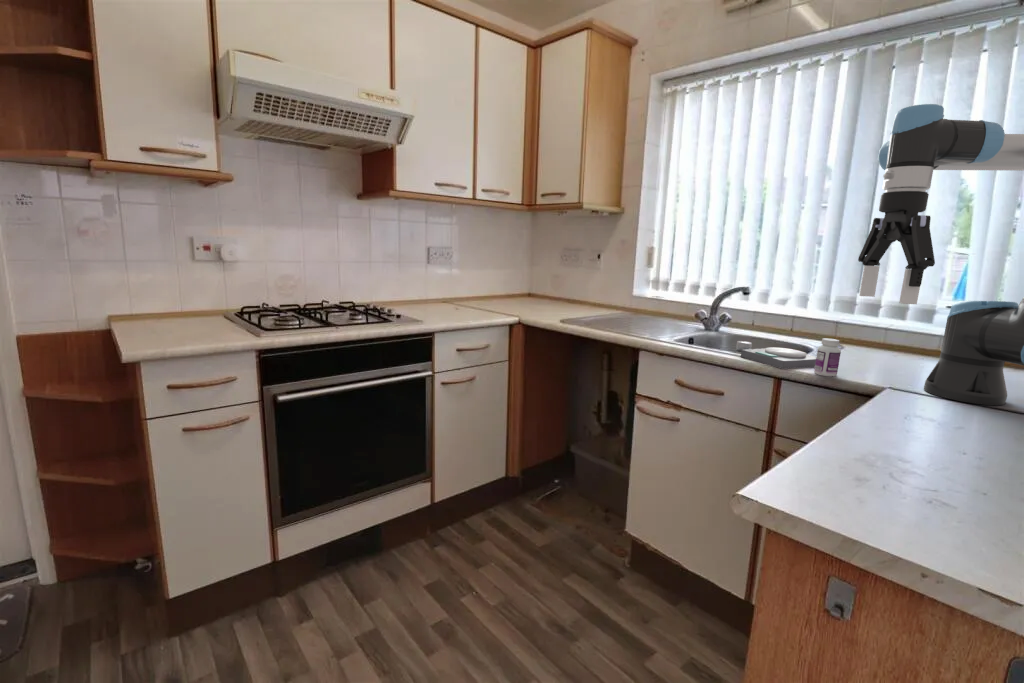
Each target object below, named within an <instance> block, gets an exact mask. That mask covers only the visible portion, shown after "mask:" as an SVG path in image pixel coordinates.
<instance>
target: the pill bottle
mask: <svg viewBox="0 0 1024 683" xmlns="http://www.w3.org/2000/svg"><path fill="white" fill-rule="evenodd" d="M821 339H822V340H821V345H819V346H818V348H817V350H816V351H817V353H816V356H815V357H816V363H815V367H814V373H815V374H816V375H820V376H823V377H829V378H830V377H832V376H833V377H837V375H838V370H839V365H840V358H841V353H842V350H841V349H840V348H839V347H838V346H839V345H840V340H839V339H834V338H824V337H823V338H821Z"/></svg>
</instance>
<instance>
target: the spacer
mask: <svg viewBox="0 0 1024 683" xmlns="http://www.w3.org/2000/svg"><path fill="white" fill-rule="evenodd" d="M752 347H753V343H752V341H751V342H750V341H745V340H743V341H742V340H737V341H736V347H735V348H736V349H735V352H739V353H741V351H742V350H744V349H752Z"/></svg>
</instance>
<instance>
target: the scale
mask: <svg viewBox="0 0 1024 683" xmlns="http://www.w3.org/2000/svg"><path fill="white" fill-rule="evenodd" d="M816 357H817V356H814V355H810V354H807V352H804V351H803V350H802V351H801V350H797V349H794V348H793V349H792V348H785V347H773V346H772V347H765V348H751V349H744V350H742V351H741V352H740V358H744V359H747V360H751V361H754V362H757V363H762V364H765V365H768V366H771V367H776V368H779V369H782V370H783V369H798V368H799V369H800V368H813V367H814V368H815V363H816Z"/></svg>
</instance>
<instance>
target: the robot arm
mask: <svg viewBox="0 0 1024 683" xmlns="http://www.w3.org/2000/svg"><path fill="white" fill-rule="evenodd" d="M944 113H945V109H944V106H942V105H940V104H936V103H924V104H916V105H915V104H914V105H910V106H906V107H904V108H901V109H899V110H898V111H897V112H896V114H895V115H894V119H893V122H892V127H891V131H890V134H889V135H890V136H889V140H887V141H885V142H884V143H883V144H882V146H881V147H880V149H879V151H878V157H877V161H878V165H879V166H880V168H881V169H882V170H883V171H884V172H885V173H884V174H883V176H882V177H883V184H882V190H883V191H885V192H882V193H881V194H880V200H879V206H878V211H879V212H880V213H884V216H883V217H874V219H873V222H872V224H871V225H872V226H871V229H870V232H869V234H868V235H867V238H866V240H865V243H864V245H863V246H862V249H861V250H860V251H861V252H860V254H859V256H858V259H857V261H858V262H860V263H862V265H863V270H862V277H861V283H860V291H859V297H869V298H871V297H872V298H875V295H876V289H877V283H878V278H879V272H880V268H881V267H880V266H881V262H880V260H881V259H882V258H883V256H884V255H885V254H886V252H887V250H888V249H889V248H890V246H891V245H892V243H894V242H896V241H897V242H899V243H900V246H901V248H902V251H903V253H904V257H905V259H906V262H907V265H906V266H905V269H904V275H903V279H902V280H903V281H902V285H901V286H902V287H901V292H900V298H899V304H901V305H902V304H903V305H918V298H919V294H920V289H921V285H922V281H923V277H924V271H925V270H927V268H929V267H934V266H935V264H936V261H935V253H934V247H933V246H934V245H933V242H932V235H931V228H930V227H931V215H926V214H925V215H923V214H921V215H919V213H924V212H925V211H926V210H927V205H928V200H929V196H930V195H929V193H928V192H927V191H928V190H929V189H931V186H932V180H933V179H932V178H933V173H934V171H1017V172H1018V171H1019V172H1020V171H1022V172H1024V133H1006V132H1005V130H1004V128H1003V127H1002V125H1001V124H999V123H997V122H992V121H987V120H986V121H985V120H983V119H980V120H970V119H969V120H968V119H967V120H965V119H947V118H944V117H945V115H944ZM1005 362H1006V363H1010V364H1015V365H1019V366H1022V367H1023V366H1024V296H1023V297H1022V299H1021V300H1020V303H1019V304H1018V303H1017V302H1015V301H1004V300H1003V301H1001V300H1000V301H999V300H958V301H956V302H954V303H953V304H951V307H950V309H949V314H948V316H947V318H946V324H945V329H944V334H943V338H942V345H941V350H940V355H939V359H938V361H937V363H936V364H935V366H934V367H933V369H932V370H931V371H930V373H929V375H928V376H927V377H926V380H925V381H924V385H923V390H924V391H925V392H926V393H930V394H932V395H935V396H937V397H942V398H944V399H945V398H946V399H949V400H952V401H953V400H954V401H957V402H958V401H959V402H963V403H968V404H976V405H985V406H1003V405H1004V406H1005V405H1006V402H1007V398H1008V391H1007V385H1006V379H1005V375H1004V367H1005Z"/></svg>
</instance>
